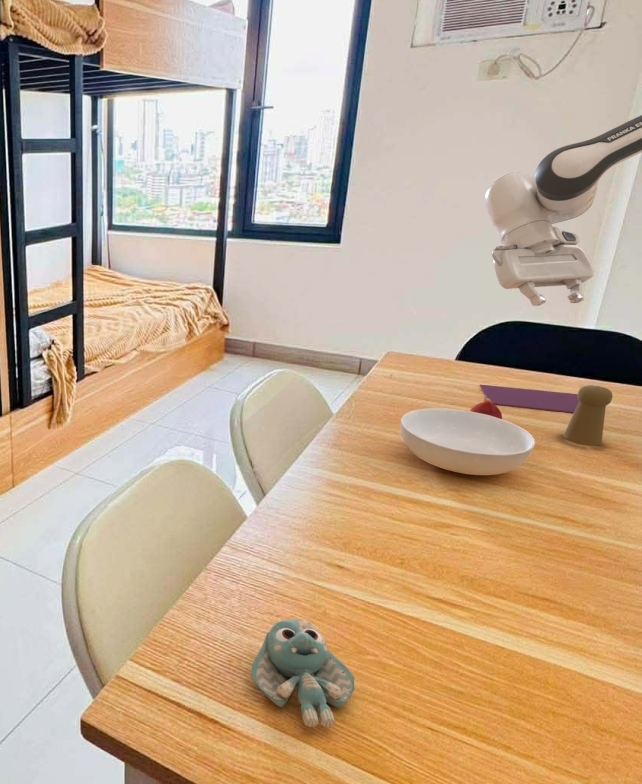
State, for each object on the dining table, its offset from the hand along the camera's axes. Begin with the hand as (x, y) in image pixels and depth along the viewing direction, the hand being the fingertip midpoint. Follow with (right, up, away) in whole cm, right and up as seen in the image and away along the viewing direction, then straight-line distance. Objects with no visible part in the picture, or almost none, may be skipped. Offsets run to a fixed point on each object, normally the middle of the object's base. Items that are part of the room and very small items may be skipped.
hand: (558, 303), depth 126 cm
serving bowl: (-27, -31, -10) cm, 42 cm away
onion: (-15, -27, +2) cm, 31 cm away
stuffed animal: (-75, -50, -59) cm, 108 cm away
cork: (+4, -28, -1) cm, 28 cm away
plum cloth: (+10, -20, +20) cm, 30 cm away
